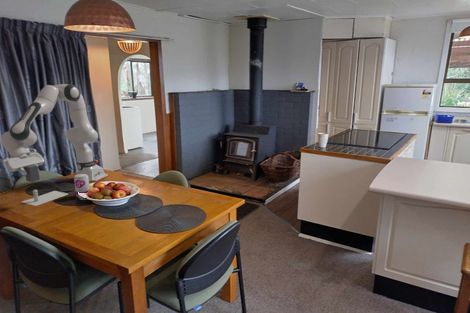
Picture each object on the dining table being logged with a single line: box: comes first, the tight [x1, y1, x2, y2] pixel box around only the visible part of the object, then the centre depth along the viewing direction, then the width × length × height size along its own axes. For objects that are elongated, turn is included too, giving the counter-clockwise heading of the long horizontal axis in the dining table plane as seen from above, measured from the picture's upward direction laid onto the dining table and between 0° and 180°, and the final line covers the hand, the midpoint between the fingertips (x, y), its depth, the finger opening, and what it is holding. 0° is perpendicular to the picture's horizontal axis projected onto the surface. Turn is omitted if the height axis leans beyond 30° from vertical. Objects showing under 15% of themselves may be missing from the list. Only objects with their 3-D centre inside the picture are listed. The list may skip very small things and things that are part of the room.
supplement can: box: [73, 173, 91, 201], centre depth 208 cm, size 8×8×15 cm
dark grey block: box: [24, 165, 41, 183], centre depth 196 cm, size 5×5×9 cm
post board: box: [22, 189, 69, 207], centre depth 205 cm, size 22×14×8 cm, turn 154°
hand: (32, 172), depth 196 cm, fingers closed on dark grey block, 5 cm apart
